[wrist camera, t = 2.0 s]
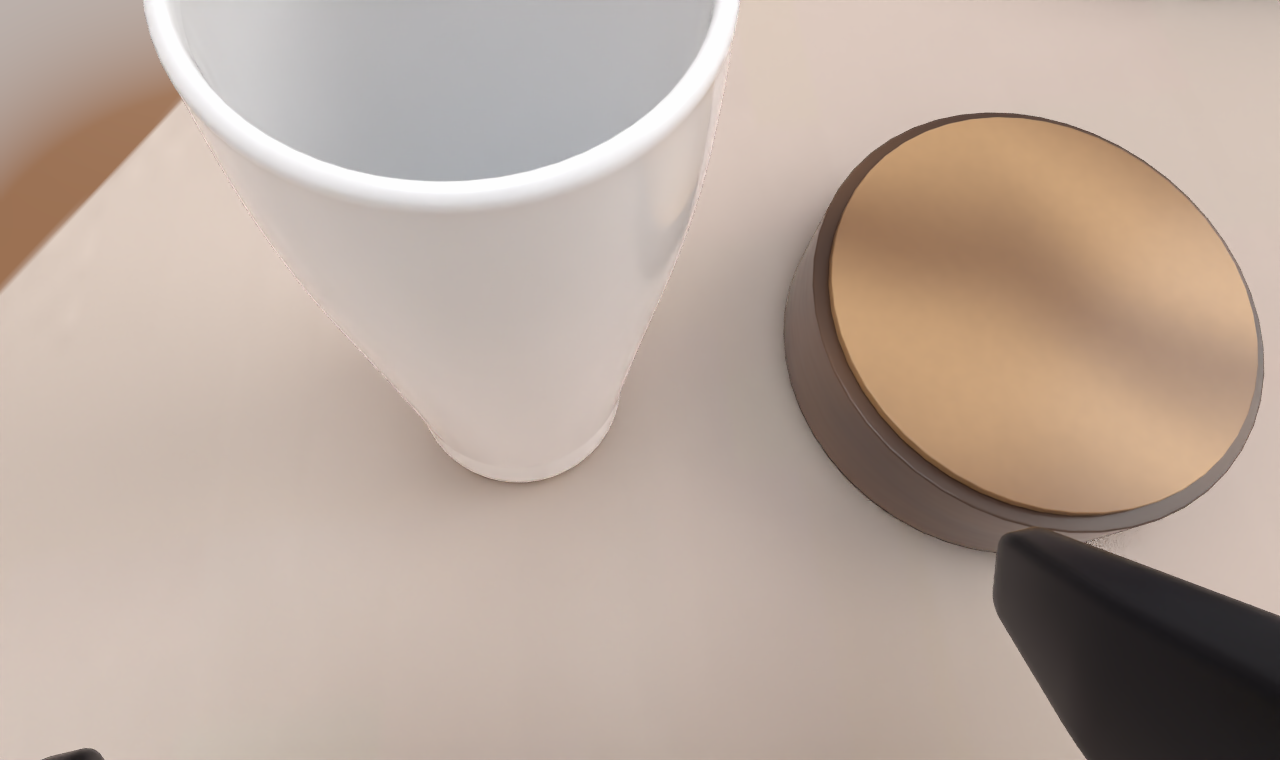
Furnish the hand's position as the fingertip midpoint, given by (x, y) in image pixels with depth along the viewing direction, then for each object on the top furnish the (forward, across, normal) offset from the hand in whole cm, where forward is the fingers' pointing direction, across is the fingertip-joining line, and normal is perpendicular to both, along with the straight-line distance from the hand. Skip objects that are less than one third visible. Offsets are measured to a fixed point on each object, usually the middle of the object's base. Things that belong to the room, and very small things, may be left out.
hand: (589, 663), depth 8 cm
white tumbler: (+15, 0, +4) cm, 16 cm away
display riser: (+14, -14, +5) cm, 20 cm away
